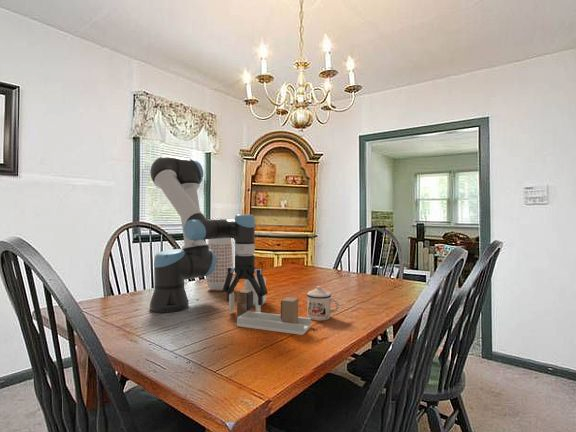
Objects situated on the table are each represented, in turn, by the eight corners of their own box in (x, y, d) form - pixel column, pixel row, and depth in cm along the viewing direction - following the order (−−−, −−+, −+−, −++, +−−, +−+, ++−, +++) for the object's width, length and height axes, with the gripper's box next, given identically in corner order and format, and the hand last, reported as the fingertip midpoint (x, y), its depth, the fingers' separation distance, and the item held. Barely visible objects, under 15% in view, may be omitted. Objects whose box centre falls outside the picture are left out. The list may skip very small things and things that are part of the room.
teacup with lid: (303, 319, 131) (303, 287, 131) (310, 312, 139) (310, 283, 139) (335, 323, 127) (336, 290, 127) (340, 316, 135) (341, 285, 135)
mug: (259, 307, 147) (259, 280, 146) (240, 305, 150) (240, 279, 150) (272, 301, 157) (272, 276, 157) (254, 298, 161) (255, 274, 161)
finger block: (236, 315, 135) (237, 292, 135) (243, 312, 140) (243, 289, 140) (247, 317, 134) (247, 293, 133) (253, 313, 138) (253, 290, 138)
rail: (236, 326, 123) (237, 297, 123) (248, 319, 131) (248, 291, 131) (302, 334, 114) (303, 303, 114) (310, 326, 123) (310, 297, 122)
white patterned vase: (230, 292, 173) (230, 234, 173) (203, 292, 173) (203, 234, 173) (235, 286, 187) (235, 233, 186) (209, 286, 187) (209, 232, 186)
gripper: (213, 254, 137) (213, 311, 137) (268, 257, 129) (268, 317, 129) (223, 252, 144) (223, 306, 144) (276, 254, 136) (276, 312, 136)
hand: (244, 311), depth 137 cm, fingers open, 11 cm apart
